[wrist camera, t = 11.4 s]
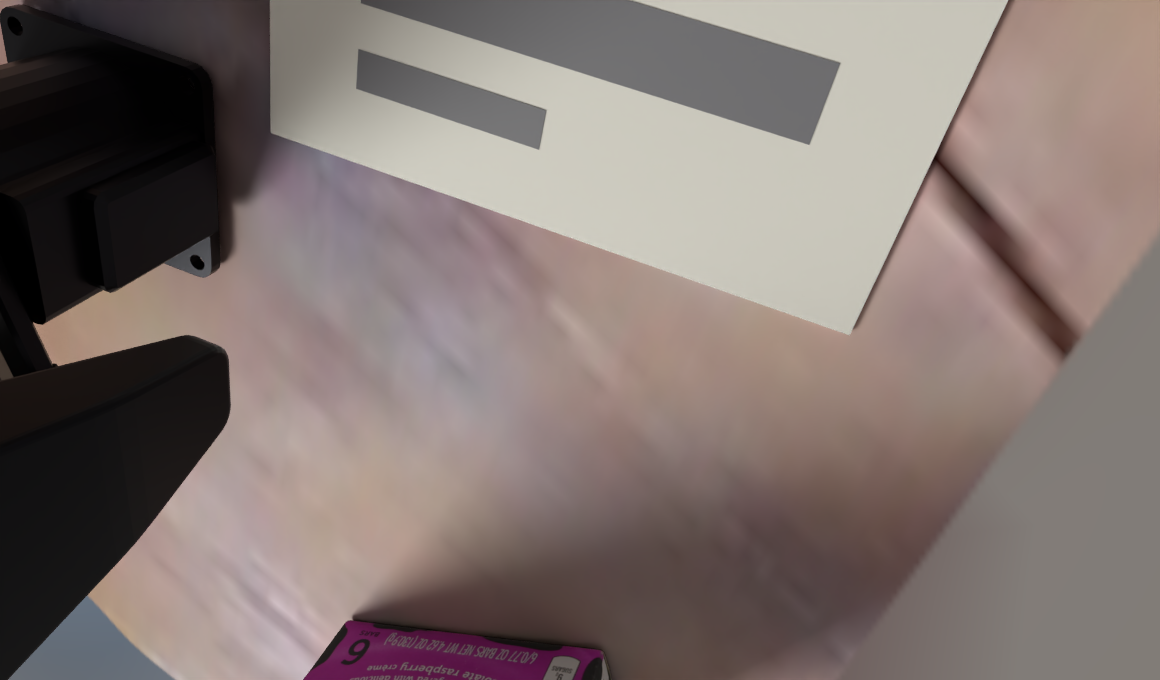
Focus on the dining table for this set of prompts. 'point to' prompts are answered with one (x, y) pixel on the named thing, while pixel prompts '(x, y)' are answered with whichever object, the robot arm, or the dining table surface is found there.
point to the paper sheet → (651, 122)
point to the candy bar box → (449, 657)
